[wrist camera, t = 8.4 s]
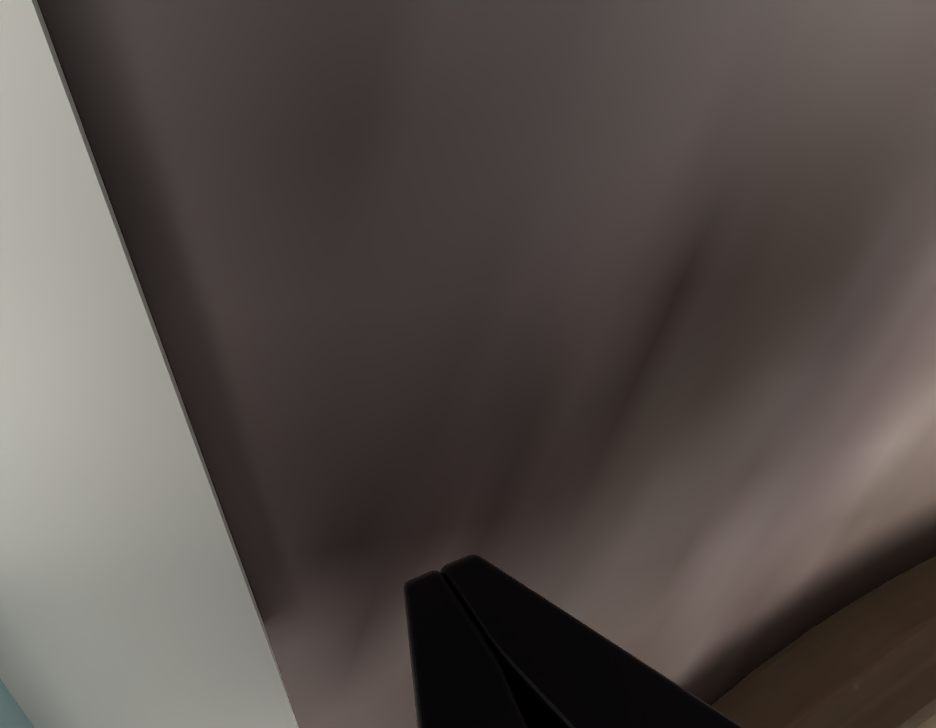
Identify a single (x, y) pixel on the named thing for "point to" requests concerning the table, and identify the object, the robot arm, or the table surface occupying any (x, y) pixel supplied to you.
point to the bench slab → (102, 457)
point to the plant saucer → (852, 666)
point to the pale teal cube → (11, 711)
